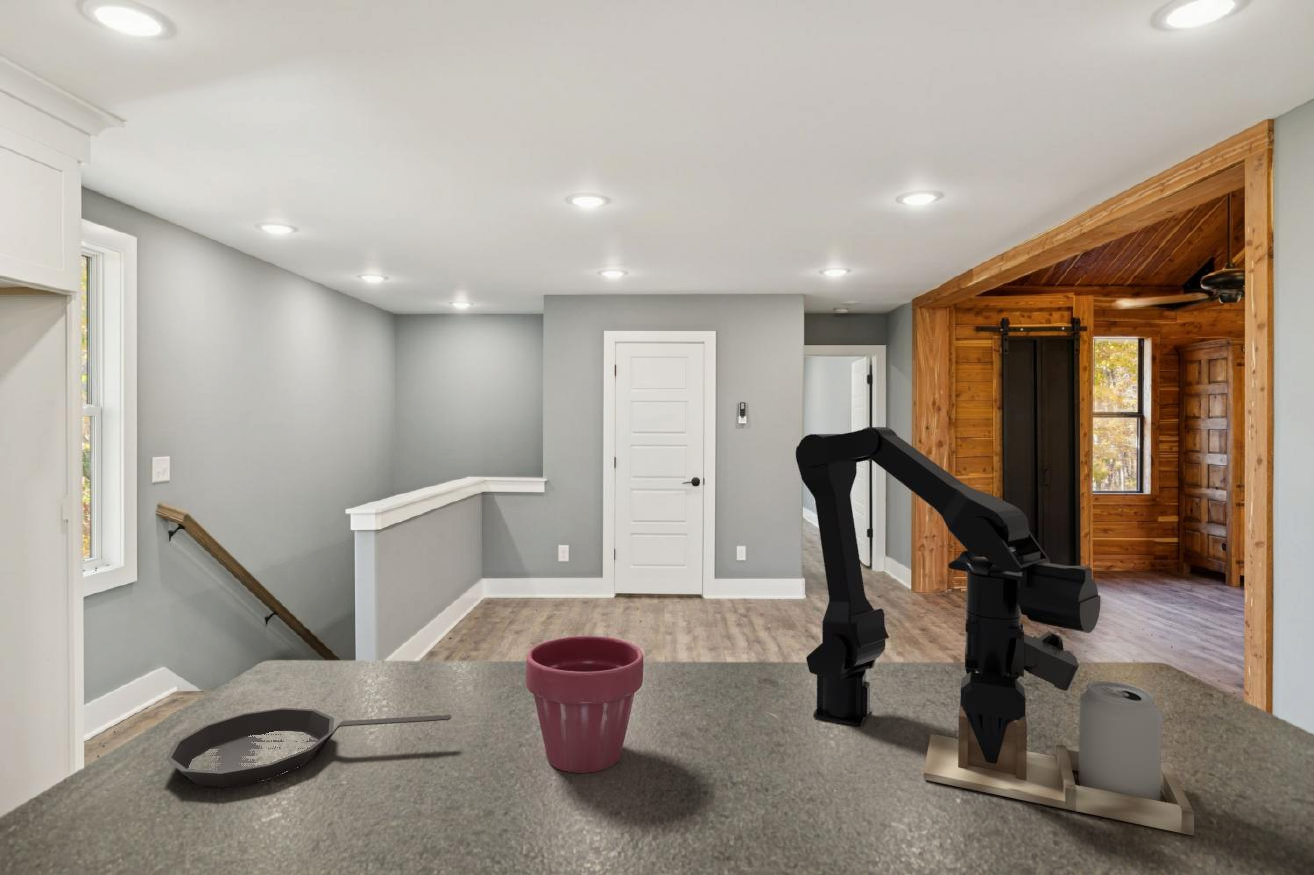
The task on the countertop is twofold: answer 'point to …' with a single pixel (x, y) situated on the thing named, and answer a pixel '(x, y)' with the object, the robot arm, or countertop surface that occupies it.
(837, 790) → the countertop surface
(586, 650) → the plant pot
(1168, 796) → the wooden divided tray
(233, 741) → the frying pan
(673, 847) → the countertop surface
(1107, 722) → the can
